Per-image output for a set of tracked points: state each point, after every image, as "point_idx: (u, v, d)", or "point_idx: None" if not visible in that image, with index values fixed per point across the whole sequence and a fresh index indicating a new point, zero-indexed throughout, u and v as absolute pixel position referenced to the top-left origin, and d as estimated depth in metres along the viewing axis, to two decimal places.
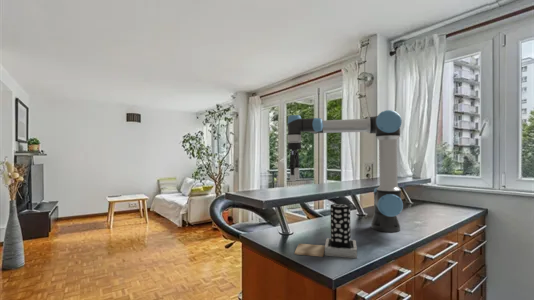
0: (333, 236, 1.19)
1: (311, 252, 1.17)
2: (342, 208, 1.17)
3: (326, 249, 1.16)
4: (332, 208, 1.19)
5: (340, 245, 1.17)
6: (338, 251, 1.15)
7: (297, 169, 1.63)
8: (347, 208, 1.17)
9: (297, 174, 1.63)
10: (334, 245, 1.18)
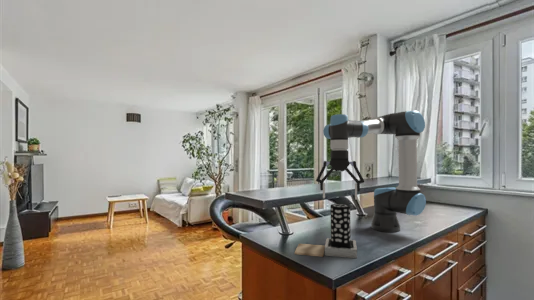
0: (333, 236, 1.19)
1: (311, 252, 1.17)
2: (342, 208, 1.17)
3: (326, 249, 1.16)
4: (332, 208, 1.19)
5: (340, 245, 1.17)
6: (338, 251, 1.15)
7: (355, 186, 1.19)
8: (347, 208, 1.17)
9: (355, 193, 1.19)
10: (334, 245, 1.18)
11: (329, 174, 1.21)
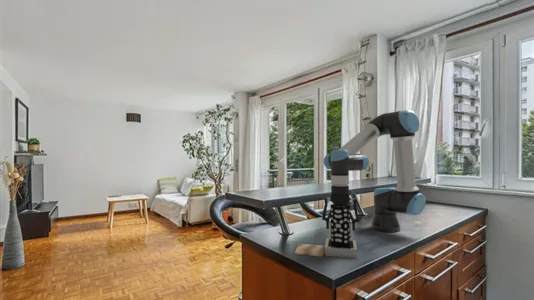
0: (333, 236, 1.19)
1: (311, 252, 1.17)
2: (342, 208, 1.17)
3: (326, 249, 1.16)
4: (332, 208, 1.19)
5: (340, 245, 1.17)
6: (338, 251, 1.15)
7: (350, 225, 1.19)
8: (347, 208, 1.17)
9: None
10: (334, 245, 1.18)
11: None
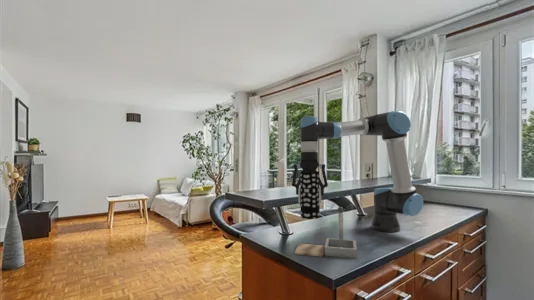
0: (302, 201, 1.20)
1: (311, 252, 1.17)
2: (310, 173, 1.18)
3: (326, 249, 1.16)
4: (301, 174, 1.21)
5: (308, 209, 1.18)
6: (338, 251, 1.15)
7: (319, 190, 1.21)
8: (315, 173, 1.19)
9: (319, 197, 1.21)
10: (303, 210, 1.20)
11: None
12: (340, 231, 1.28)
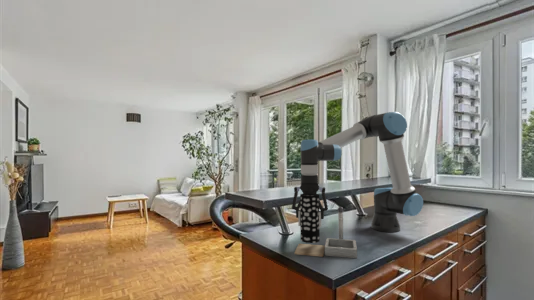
0: (302, 224, 1.20)
1: (311, 252, 1.17)
2: (310, 197, 1.18)
3: (326, 249, 1.16)
4: (301, 197, 1.21)
5: (308, 233, 1.18)
6: (338, 251, 1.15)
7: (319, 213, 1.21)
8: (315, 197, 1.19)
9: (319, 220, 1.21)
10: (303, 233, 1.20)
11: None
12: (340, 231, 1.28)
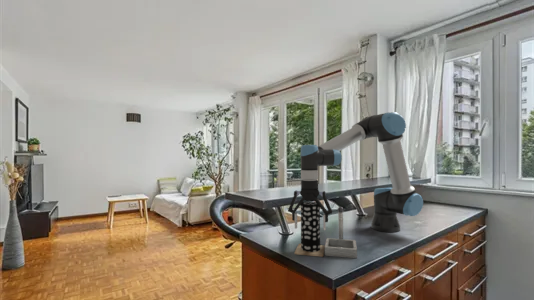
0: (302, 233, 1.20)
1: (311, 252, 1.17)
2: (311, 206, 1.18)
3: (326, 249, 1.16)
4: (302, 206, 1.21)
5: (309, 242, 1.18)
6: (338, 251, 1.15)
7: (323, 217, 1.20)
8: (316, 206, 1.19)
9: None
10: (303, 242, 1.20)
11: (300, 204, 1.22)
12: (340, 231, 1.28)
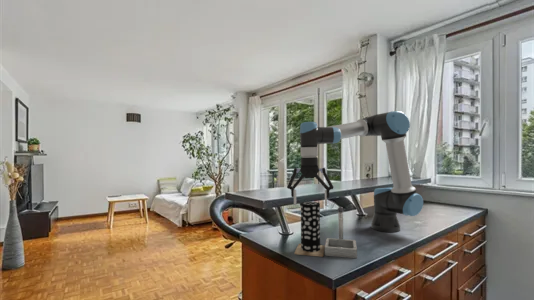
0: (302, 233, 1.20)
1: (311, 252, 1.17)
2: (311, 206, 1.18)
3: (326, 249, 1.16)
4: (302, 206, 1.21)
5: (309, 242, 1.18)
6: (338, 251, 1.15)
7: None
8: (316, 206, 1.19)
9: None
10: (303, 242, 1.20)
11: (299, 181, 1.23)
12: (340, 231, 1.28)
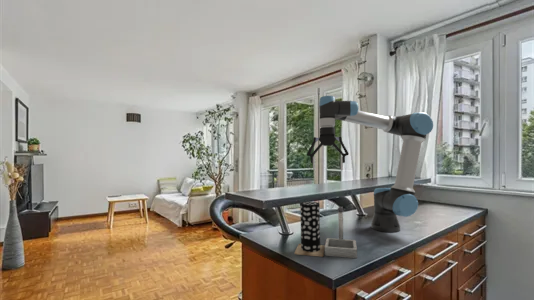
0: (302, 233, 1.20)
1: (311, 252, 1.17)
2: (310, 206, 1.18)
3: (326, 249, 1.16)
4: (301, 206, 1.21)
5: (309, 242, 1.18)
6: (338, 251, 1.15)
7: None
8: (316, 206, 1.19)
9: (341, 164, 1.36)
10: (303, 242, 1.20)
11: (318, 148, 1.38)
12: (340, 231, 1.28)
